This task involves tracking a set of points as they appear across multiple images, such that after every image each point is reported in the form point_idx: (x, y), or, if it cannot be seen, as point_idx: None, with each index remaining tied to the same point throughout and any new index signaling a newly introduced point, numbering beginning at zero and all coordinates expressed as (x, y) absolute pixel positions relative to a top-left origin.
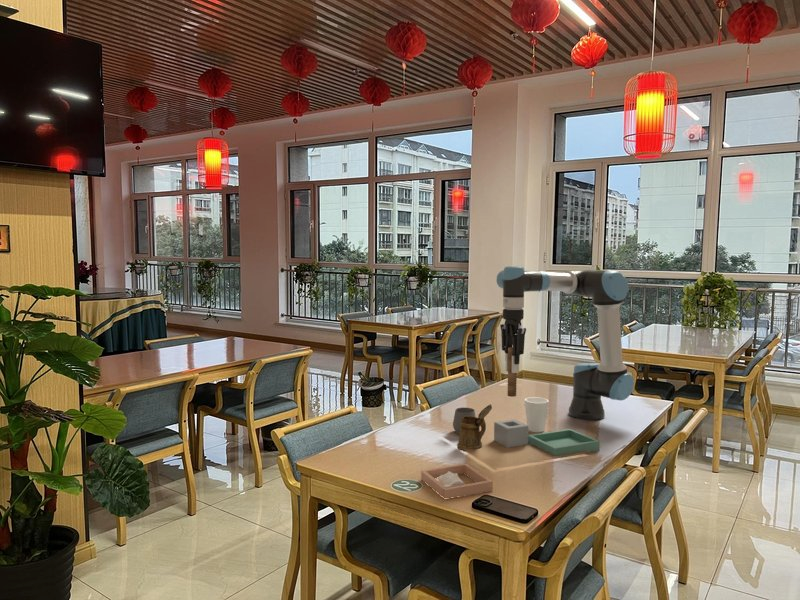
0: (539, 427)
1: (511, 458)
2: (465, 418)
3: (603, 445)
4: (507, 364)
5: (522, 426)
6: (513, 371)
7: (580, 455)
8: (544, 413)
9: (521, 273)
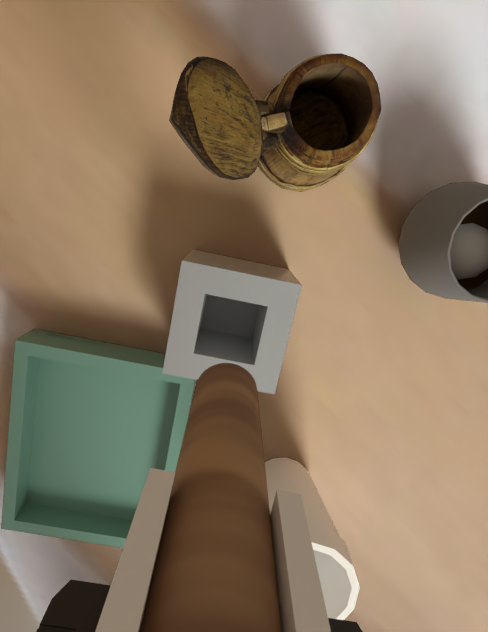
0: None
1: (114, 193)
2: (370, 111)
3: (50, 550)
4: (283, 565)
5: (168, 343)
6: (144, 490)
7: None
8: None
9: None
